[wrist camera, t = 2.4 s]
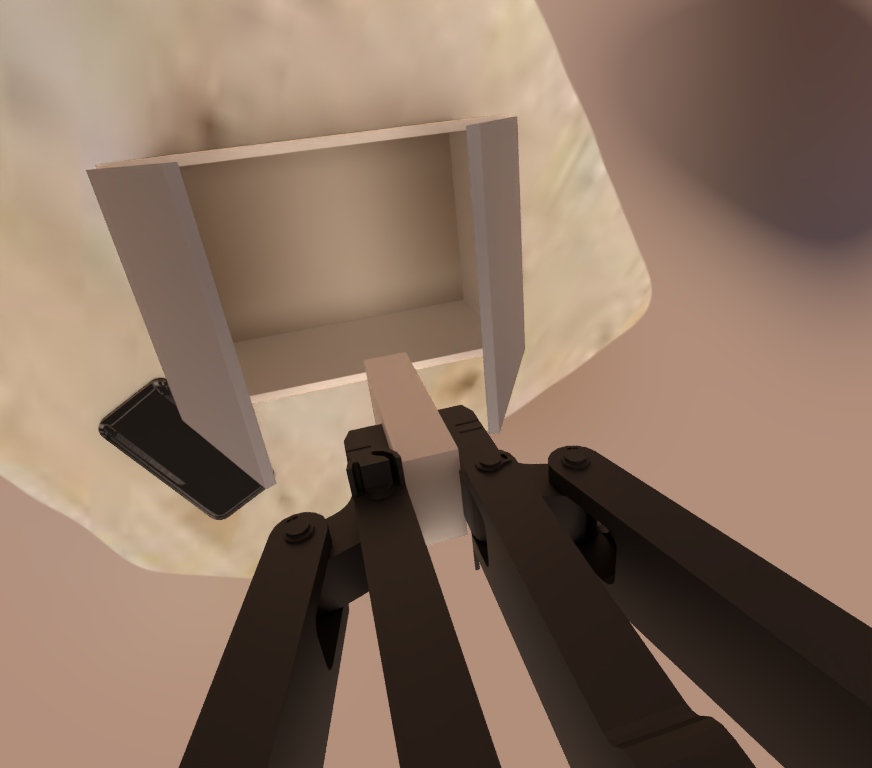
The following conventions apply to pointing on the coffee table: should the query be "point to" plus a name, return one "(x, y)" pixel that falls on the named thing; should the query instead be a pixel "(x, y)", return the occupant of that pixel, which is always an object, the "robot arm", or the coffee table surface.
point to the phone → (177, 452)
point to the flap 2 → (498, 257)
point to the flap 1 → (182, 307)
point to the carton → (339, 251)
